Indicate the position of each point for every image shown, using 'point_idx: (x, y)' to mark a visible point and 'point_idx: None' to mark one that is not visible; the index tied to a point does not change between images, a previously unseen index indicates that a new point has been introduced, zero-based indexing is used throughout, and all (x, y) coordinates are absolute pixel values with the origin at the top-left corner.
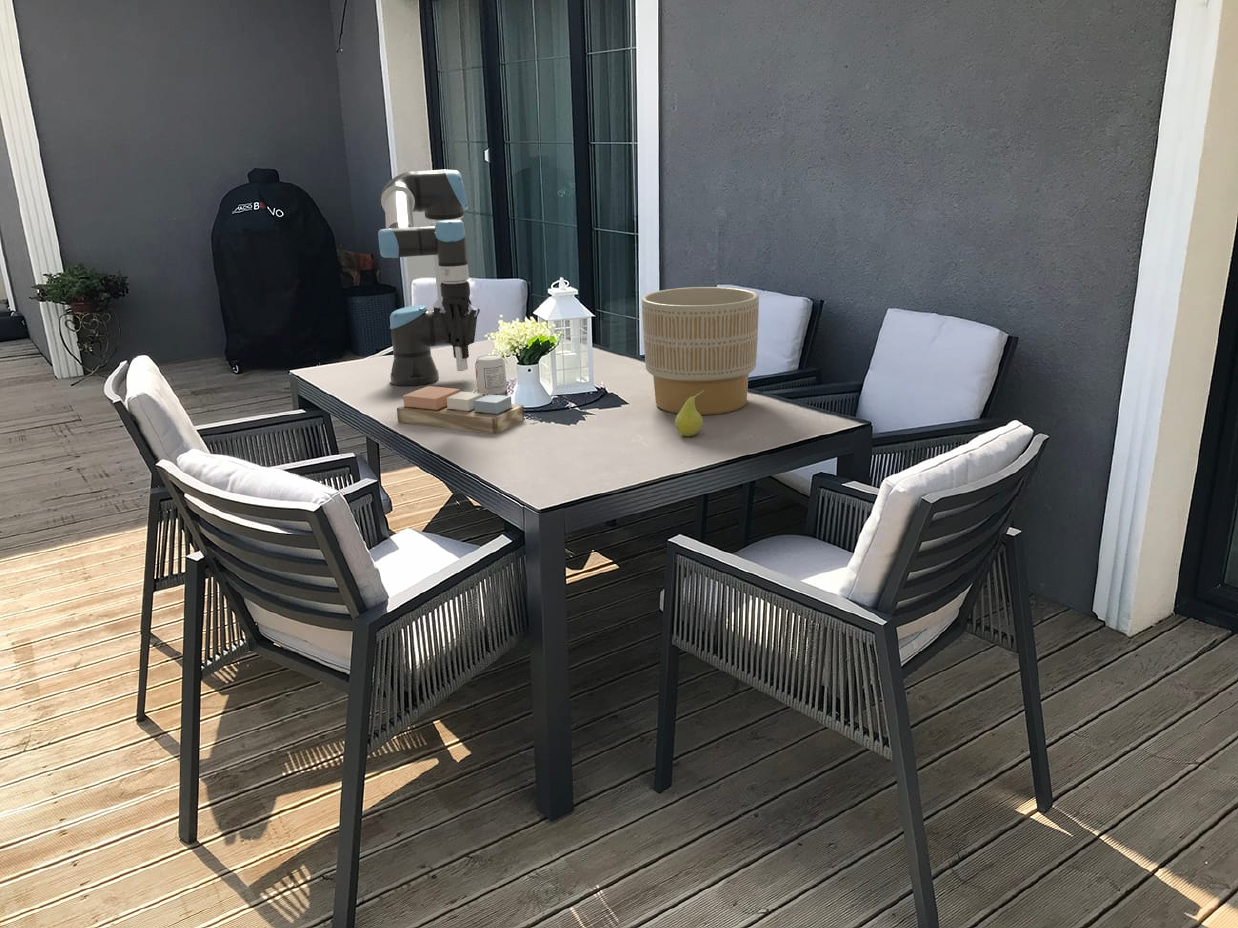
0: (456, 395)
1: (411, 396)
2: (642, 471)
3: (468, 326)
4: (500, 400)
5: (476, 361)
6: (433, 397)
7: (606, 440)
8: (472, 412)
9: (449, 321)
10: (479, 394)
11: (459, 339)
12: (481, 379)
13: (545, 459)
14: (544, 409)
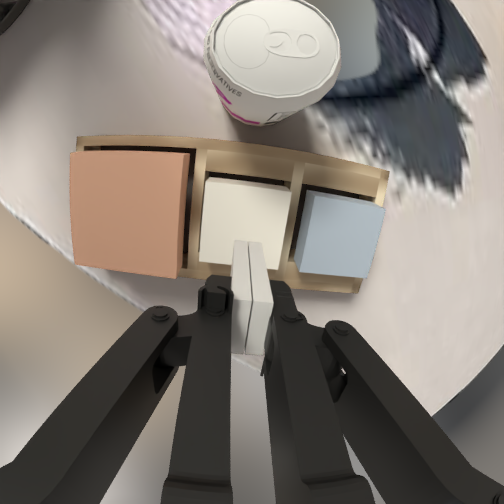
0: (215, 231)
1: (97, 267)
2: (497, 339)
3: (374, 463)
4: (370, 255)
5: (219, 76)
6: (159, 266)
7: (492, 263)
8: (284, 257)
9: (92, 433)
10: (285, 205)
11: (266, 389)
12: (253, 115)
13: (431, 351)
14: (382, 79)
